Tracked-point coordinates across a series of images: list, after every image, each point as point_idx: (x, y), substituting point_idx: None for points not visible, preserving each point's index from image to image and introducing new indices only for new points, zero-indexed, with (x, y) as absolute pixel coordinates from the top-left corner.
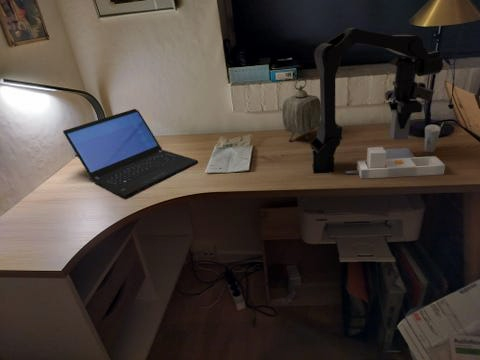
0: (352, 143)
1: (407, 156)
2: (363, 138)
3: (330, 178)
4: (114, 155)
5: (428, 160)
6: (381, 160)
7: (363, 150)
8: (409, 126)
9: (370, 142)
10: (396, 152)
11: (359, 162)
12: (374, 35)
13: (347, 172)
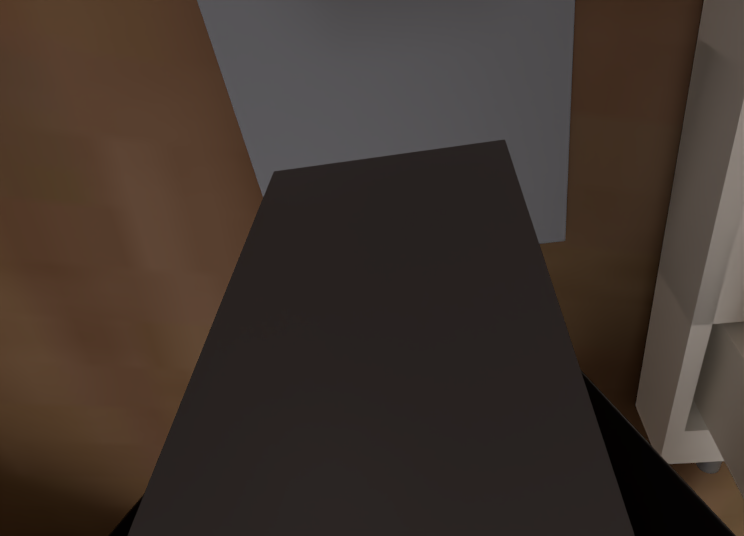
0: (149, 405)
1: (467, 20)
2: (8, 339)
3: (730, 506)
4: None
5: None
6: None
7: None
8: (553, 289)
9: (87, 300)
10: (345, 125)
11: (699, 456)
12: None
13: (720, 463)
